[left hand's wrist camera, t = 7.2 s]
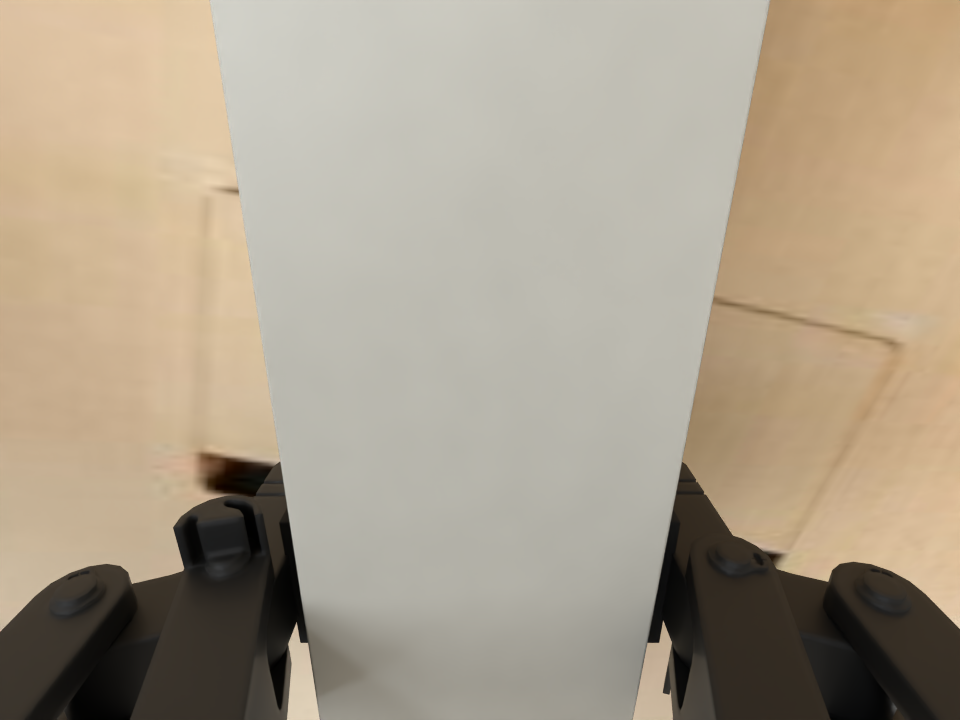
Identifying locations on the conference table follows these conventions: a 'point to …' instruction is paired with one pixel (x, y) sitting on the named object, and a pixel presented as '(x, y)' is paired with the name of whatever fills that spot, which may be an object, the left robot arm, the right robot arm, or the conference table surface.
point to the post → (483, 325)
